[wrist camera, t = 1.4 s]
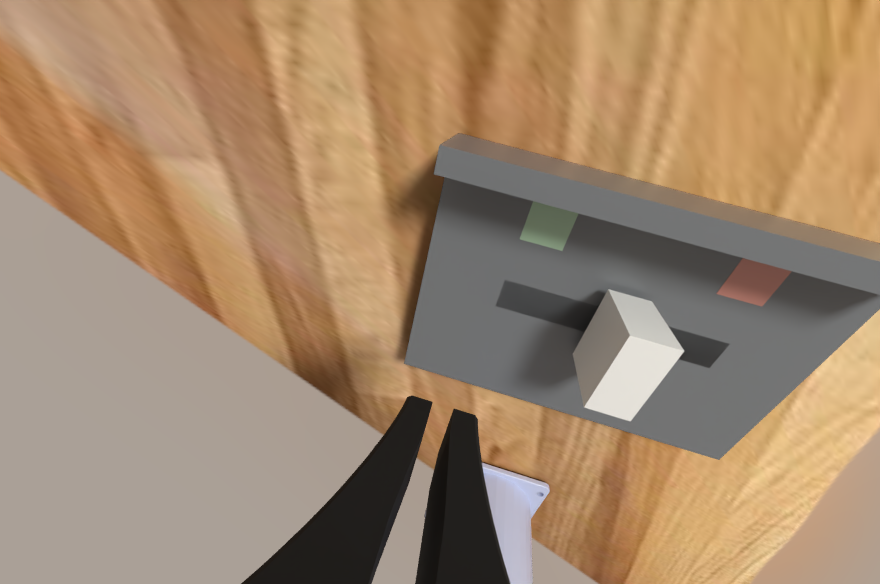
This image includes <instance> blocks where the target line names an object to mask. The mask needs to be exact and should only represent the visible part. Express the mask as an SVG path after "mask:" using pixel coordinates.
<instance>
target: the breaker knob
mask: <svg viewBox="0 0 880 584" xmlns="http://www.w3.org/2000/svg"><path fill="white" fill-rule="evenodd" d="M683 352H684V350H683V348H682V347H681V345H680V344H679V342H678V341H677V339H676V337H675V336H674V334H673V333H672V331H671V330H670V328H669V327H668V325H667V324H666V322H665V321H664V319H663V318H662V316H661V314H660V313H659V311H658V310H657V308H656V307H655V305H654V304H653V302H652V301H649V300H645V299H642V298H638V297H635V296H631V295H628V294H624V293H620V292H617V291H613V290H610V289H608V291H607V292H606V294H605V296H604V298H603V300H602V302H601V303H600V305H599V307H598V309H597V311H596V312H595V314H594V316H593V318H592V320H591V322H590V323H589V325H588V327H587V329H586V331H585V332H584V334H583V336H582V338H581V340H580V342H579V343H578V345H577V347H576V349H575V351H574V353H573V358H574V363H575V367H576V372H577V377H578V381H579V386H580V391H581V396H582V400H583V405H584V408H588V409H591V410H594V411H598V412H601V413H604V414H607V415H611V416H614V417H617V418H621V419H624V420H627V421H631V420H632V419H633V417H634V416H635V415H636V414H637V412H638V411H639V410H640V408H641V407H642V406H643V404H644V403H645V402H646V401H647V399H648V398H649V397H650V395H651V394H652V393H653V391H654V390H655V389H656V388H657V386H658V385H659V384H660V382H661V381H662V380H663V378H664V377H665V376H666V375H667V373H668V372H669V371H670V369H671V368H672V367H673V365H674V364H675V363H676V361H677V360H678V359H679V358H680V356H681V355H682V354H683Z"/></svg>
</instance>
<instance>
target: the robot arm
mask: <svg viewBox="0 0 880 584" xmlns="http://www.w3.org/2000/svg"><path fill="white" fill-rule="evenodd" d="M431 406H432V402H431V401H428V400H425V399H421V398H418V397H415V396H409V397H407V399H406V401H405V403H404V405H403V407H402V409H401V410H400V412H399V414H398V415H397V417H396V418H395V420H394V421H393V423H392V424H391V426H390V427H389V429H388V430H387V432H386V433H385V434H384V436H383V437H382V438H381V440H380V441H379V442H378V444H377V445H376V446H375V447H374V449H373V450H372V452H371V453H370V454H369V455H368V457H367V458H366V459H365V460H364V461H363V463H362V464H361V465H360V466H359V467H358V468H357V470H356V471H355V472H354V473H353V474H352V476H350V478H349V479H348V480H347V481H346V483H345V484H344V485H343V486H342V487H341V488H340V489H339V490H338V491H337V492H336V493H335V495H334V496H333V497H332V498H331V499H330V500H329V501H328V502H327V503H326V504H325V505H324V506H323V507H322V508H321V509H320V510H319V511H318V512H317V513H316V514H315V515H314V516H313V517H312V519H310V521H308V522H307V524H306V525H304V527H302V528H301V529H300V530H299V531H298V532H297V533H296V534H295V535H294V536H293V537H292V538H291V539H290V540H289V541H288V542H287V543H286V544H285V545H284V546H283V547H282V548H281V549H279V550H278V551H277V552H276V553H275V554H274V555H273V556H272V557H271V558H270V559H269V560H268V561H266V562H265V563H264V564H263V565H262V566H261V567H260V568H259V569H258V570H256V571H255V572H254V573H253V574H252V575H251V576H249V578H247V579H246V580H245V581H244V582H243V583H241V584H371V583H372V580H373V577H374V575H375V572H376V569H377V566H378V563H379V561H380V558H381V556H382V553H383V550H384V547H385V545H386V542H387V540H388V537H389V534H390V531H391V529H392V526H393V524H394V521H395V518H396V516H397V513H398V510H399V508H400V505H401V502H402V500H403V497H404V494H405V492H406V489H407V486H408V484H409V481H410V477H411V474H412V470H413V467H414V464H415V460H416V457H417V454H418V451H419V447H420V444H421V441H422V437H423V434H424V431H425V427H426V424H427V420H428V417H429V413H430V409H431ZM548 493H549V485H548V484H547V483H545V482H542V481H538V480H535V479H532V478H529V477H526V476H523V475H520V474H516V473H513V472H510V471H507V470H504V469H501V468H498V467H494V466H491V465H488V464H485V463H482V460H481V453H480V445H479V436H478V419H477V417H476V416H475V415H473V414H470V413H466V412H463V411H460V410H457V409H454V410H453V413H452V416H451V418H450V421H449V424H448V427H447V430H446V433H445V436H444V438H443V441H442V444H441V447H440V450H439V453H438V457H437V461H436V465H435V469H434V473H433V477H432V482H431V486H430V490H429V497H428V503H427V509H426V512H425V523H424V530H423V536H422V543H421V550H420V556H419V564H418V570H417V576H416V583H415V584H533V577H532V543H531V518H532V516H533V515H534V513H535V512H536V510H537V509H538V508H539V506H540V505H541V503H542V502H543V500H544V499H545V497H546V496H547V495H548Z"/></svg>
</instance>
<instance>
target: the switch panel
mask: <svg viewBox="0 0 880 584" xmlns="http://www.w3.org/2000/svg"><path fill="white" fill-rule="evenodd" d="M434 174H435V175H438V176H442V177H445V178H444V183H443V187H442V192H441V196H440V201H439V206H438V210H437V215H436V219H435V224H434V229H433V233H432V238H431V242H430V247H429V252H428V256H427V261H426V265H425V270H424V275H423V279H422V284H421V288H420V293H419V298H418V302H417V307H416V311H415V316H414V321H413V325H412V330H411V334H410V339H409V344H408V348H407V353H406V357H405V362H404V364H407V365H410V366H414V367H417V368H420V369H423V370H427V371H430V372H433V373H436V374H440V375H443V376H446V377H449V378H453V379H456V380H459V381H463V382H466V383H469V384H472V385H476V386H479V387H482V388H485V389H489V390H492V391H495V392H499V393H502V394H505V395H508V396H512V397H515V398H518V399H521V400H525V401H528V402H531V403H535V404H538V405H541V406H544V407H548V408H551V409H554V410H557V411H561V412H564V413H567V414H571V415H574V416H577V417H580V418H584V419H587V420H590V421H593V422H597V423H600V424H603V425H607V426H610V427H613V428H616V429H620V430H623V431H626V432H629V433H633V434H636V435H639V436H643V437H646V438H649V439H652V440H656V441H659V442H662V443H665V444H669V445H672V446H675V447H679V448H682V449H685V450H688V451H692V452H695V453H698V454H701V455H705V456H708V457H711V458H715V459H718V460H719V459H720V458H721V457H723V456H724V455H725V454H726V453H727V452H728V451H729V450H730V449H731V448H732V447H733V446H734V445H735V444H736V443H737V442H739V441H740V440H741V439H742V438H743V437H744V436H745V435H746V434H747V433H748V432H749V431H750V430H751V429H752V428H753V427H754V426H756V425H757V424H758V423H759V422H760V421H761V420H762V419H763V418H764V417H765V416H766V415H767V414H768V413H769V412H770V411H772V410H773V409H774V408H775V407H776V406H777V405H778V404H779V403H780V402H781V401H782V400H783V399H784V398H785V397H786V396H788V395H789V394H790V393H791V392H792V391H793V390H794V389H795V388H796V387H797V386H798V385H799V384H800V383H801V382H802V381H804V380H805V379H806V378H807V377H808V376H809V375H810V374H811V373H812V372H813V371H814V370H815V369H816V368H817V367H818V366H820V365H821V364H822V363H823V362H824V361H825V360H826V359H827V358H828V357H829V356H830V355H831V354H832V353H833V352H834V351H836V350H837V349H838V348H839V347H840V346H841V345H842V344H843V343H844V342H845V341H846V340H847V339H848V338H849V337H850V336H851V335H853V334H854V333H855V332H856V331H857V330H858V329H859V328H860V327H861V326H862V325H863V324H864V323H865V322H866V321H867V320H869V319H870V318H871V317H872V316H873V315H874V314H875V313H876V312H877V311H878V310H879V309H880V243H876V242H872V241H869V240H865V239H861V238H857V237H853V236H849V235H846V234H842V233H838V232H834V231H830V230H827V229H823V228H819V227H815V226H811V225H808V224H804V223H800V222H796V221H792V220H788V219H785V218H781V217H777V216H773V215H769V214H766V213H762V212H758V211H754V210H750V209H747V208H743V207H739V206H735V205H731V204H727V203H724V202H720V201H716V200H712V199H708V198H705V197H701V196H697V195H693V194H689V193H686V192H682V191H678V190H674V189H670V188H667V187H663V186H659V185H655V184H651V183H647V182H644V181H640V180H636V179H632V178H628V177H625V176H621V175H617V174H613V173H609V172H606V171H602V170H598V169H594V168H590V167H586V166H583V165H579V164H575V163H571V162H567V161H564V160H560V159H556V158H552V157H548V156H545V155H541V154H537V153H533V152H529V151H526V150H522V149H518V148H514V147H510V146H506V145H503V144H499V143H495V142H491V141H487V140H484V139H480V138H476V137H472V136H468V135H465V134H461V133H458V134H456V135H455V136H453V137H452V138H450V139H448V140H447V141H445V142H443V143H442V144H440V146H439V151H438V156H437V161H436V166H435V171H434ZM608 289H610V290H613V291H617V292H620V293H624V294H628V295H631V296H635V297H638V298H642V299H645V300H649V301H652V302H653V304H654V305H655V307H656V308H657V310H658V311H659V313H660V314H661V316H662V318H663V319H664V321H665V322H666V324H667V325H668V327H669V328H670V330H671V331H672V333H673V334H674V336H675V337H676V339H677V341H678V342H679V344H680V345H681V347H682V348H683V350H684V352H683V354H682V355H681V356H680V358H679V359H678V360H677V361H676V363H675V364H674V365H673V367H672V368H671V369H670V371H669V372H668V373H667V375H666V376H665V377H664V378H663V380H662V381H661V382H660V384H659V385H658V386H657V388H656V389H655V390H654V391H653V393H652V394H651V395H650V397H649V398H648V399H647V401H646V402H645V403H644V404H643V406H642V407H641V408H640V410H639V411H638V412H637V414H636V415H635V416H634V417H633V419H632V420H631V421H627V420H624V419H621V418H617V417H614V416H611V415H607V414H604V413H601V412H598V411H594V410H591V409H588V408H584V405H583V400H582V396H581V391H580V386H579V381H578V377H577V372H576V367H575V363H574V358H573V353H574V351H575V349H576V347H577V345H578V343H579V342H580V340H581V338H582V336H583V334H584V332H585V331H586V329H587V327H588V325H589V323H590V322H591V320H592V318H593V316H594V314H595V312H596V311H597V309H598V307H599V305H600V303H601V302H602V300H603V298H604V296H605V294H606V292H607V291H608Z"/></svg>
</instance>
